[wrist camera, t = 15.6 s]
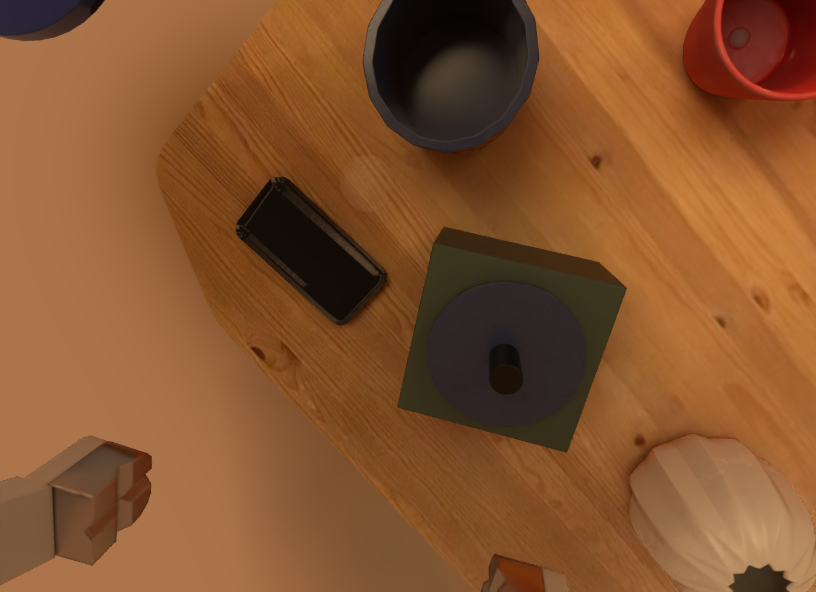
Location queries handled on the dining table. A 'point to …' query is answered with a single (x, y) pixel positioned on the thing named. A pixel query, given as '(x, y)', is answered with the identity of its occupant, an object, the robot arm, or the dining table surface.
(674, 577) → the vase
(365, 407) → the dining table surface
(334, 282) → the phone
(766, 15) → the flower pot
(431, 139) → the pot
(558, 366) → the lid
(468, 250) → the green open box
